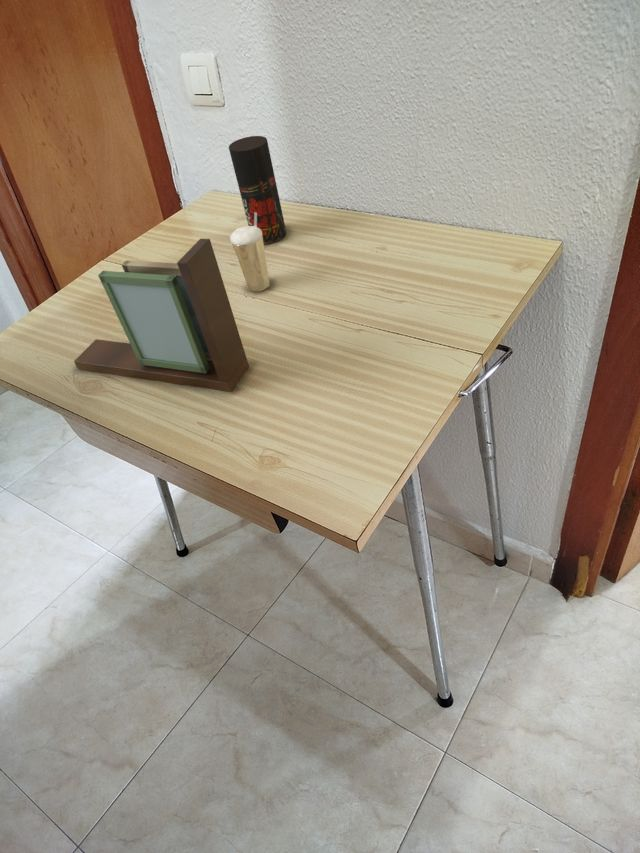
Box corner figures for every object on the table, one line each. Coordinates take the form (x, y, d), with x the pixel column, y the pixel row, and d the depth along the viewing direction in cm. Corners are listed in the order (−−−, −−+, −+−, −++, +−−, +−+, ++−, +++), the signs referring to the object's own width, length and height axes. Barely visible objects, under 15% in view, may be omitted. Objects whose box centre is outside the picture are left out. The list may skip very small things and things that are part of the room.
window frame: (78, 369, 80) (11, 252, 68) (99, 347, 83) (39, 231, 71) (231, 392, 71) (186, 263, 59) (249, 366, 74) (210, 238, 62)
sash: (139, 364, 75) (97, 275, 66) (144, 359, 76) (102, 270, 67) (206, 373, 72) (171, 280, 63) (210, 368, 72) (175, 275, 63)
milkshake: (283, 277, 89) (268, 214, 82) (262, 296, 86) (246, 232, 79) (259, 273, 91) (243, 211, 84) (238, 291, 88) (220, 228, 81)
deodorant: (244, 240, 99) (220, 148, 89) (268, 224, 102) (247, 134, 92) (270, 247, 96) (248, 153, 86) (293, 230, 99) (275, 137, 89)
